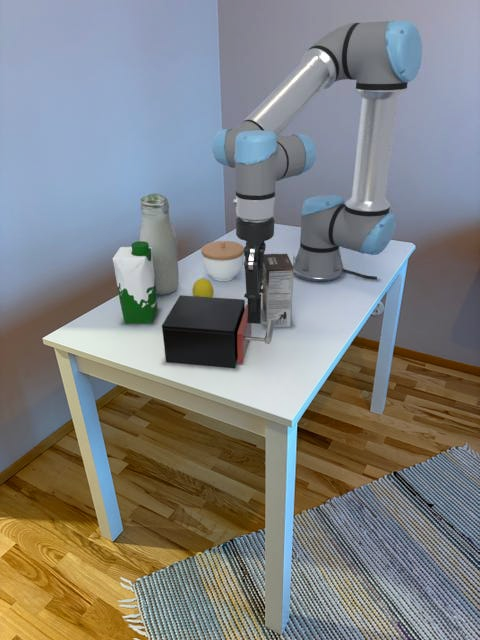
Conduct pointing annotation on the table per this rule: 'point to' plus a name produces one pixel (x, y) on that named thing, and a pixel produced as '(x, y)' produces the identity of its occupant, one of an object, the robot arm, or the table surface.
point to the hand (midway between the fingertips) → (254, 321)
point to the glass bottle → (160, 241)
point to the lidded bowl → (222, 259)
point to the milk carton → (136, 282)
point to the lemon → (203, 288)
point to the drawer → (249, 334)
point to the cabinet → (202, 331)
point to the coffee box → (277, 289)
